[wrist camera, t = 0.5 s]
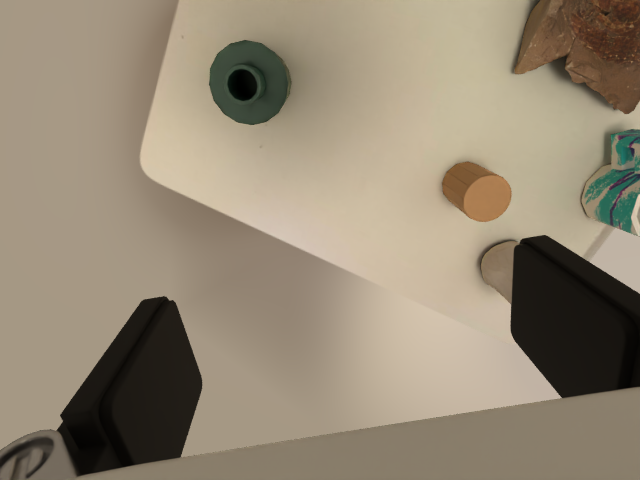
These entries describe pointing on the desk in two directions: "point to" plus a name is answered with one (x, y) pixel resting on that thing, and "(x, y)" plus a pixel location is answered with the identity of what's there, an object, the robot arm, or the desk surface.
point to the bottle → (249, 82)
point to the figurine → (500, 268)
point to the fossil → (588, 45)
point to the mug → (617, 185)
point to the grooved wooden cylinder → (477, 191)
